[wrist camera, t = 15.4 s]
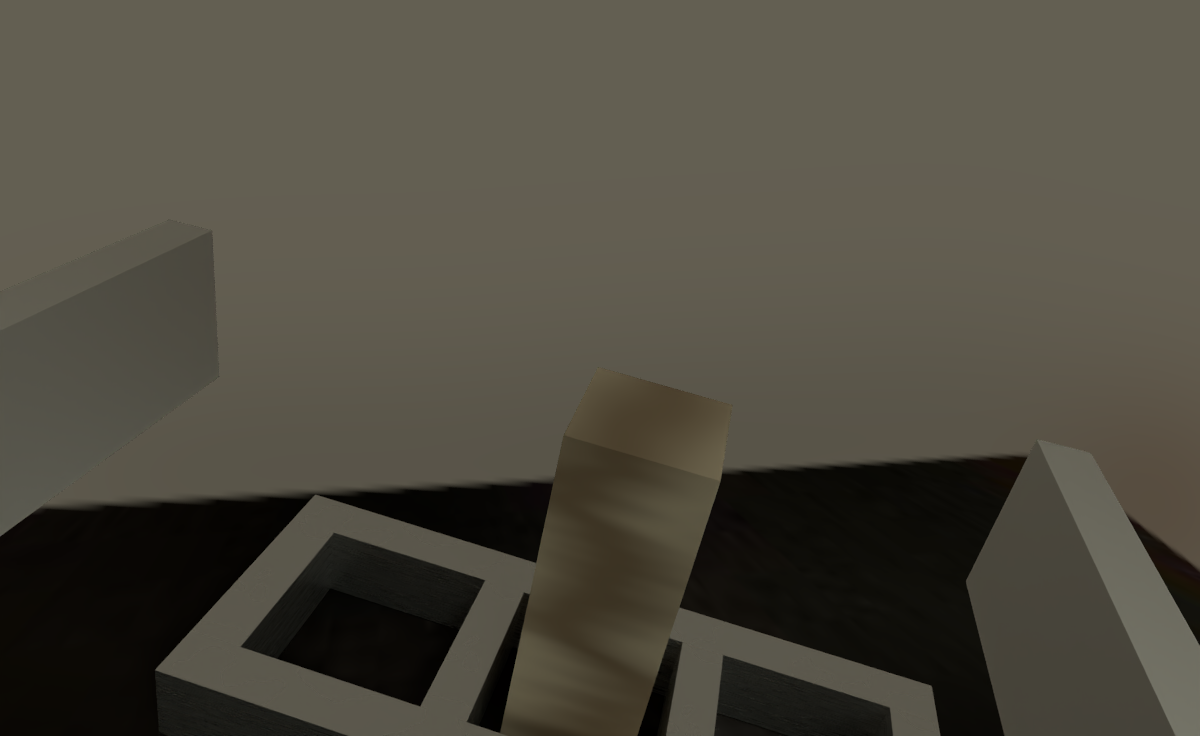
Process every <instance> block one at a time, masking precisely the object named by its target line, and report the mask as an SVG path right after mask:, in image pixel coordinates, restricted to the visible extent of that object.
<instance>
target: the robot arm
mask: <svg viewBox="0 0 1200 736" xmlns="http://www.w3.org/2000/svg"><path fill="white" fill-rule="evenodd" d="M218 377H219V363H218V342H217V321H216V302H215V280H214V261H213V239H212V230H208V229H204V228H200V227H196V226H193V225H188V224H185V223H181V222H177V221H173V220H167V221H165V222H163V223H160V224H158V225H156V226H153V227H151V228H148V229H146V230H144V231H141V232H139V233H137V234H134V235H132V236H130V237H127V238H125V239H123V240H121V241H118V242H115V243H113V244H111V245H109V246H106V247H104V248H102V249H99V250H97V251H94V252H92V253H90V254H87V255H85V256H83V257H80V258H78V259H75V260H73V261H71V262H69V263H66V264H64V265H61V266H59V267H57V268H54V269H52V270H50V271H47V272H45V273H43V274H40V275H38V276H35V277H33V278H31V279H28V280H26V281H24V282H21V283H19V284H17V285H14V286H12V287H9V288H7V289H5V290H2V291H0V536H1V535H2V534H4V533H5V532H7V531H8V530H9V529H11V528H12V527H13V526H15V525H16V524H18V523H19V522H20V521H22V520H23V519H24V518H26V517H27V516H29V515H30V514H31V513H33V512H34V511H35V510H37V509H38V508H40V507H41V506H42V505H44V504H45V503H46V502H48V501H49V500H51V499H52V498H53V497H55V496H56V495H57V494H59V493H60V492H61V491H63V490H64V489H65V488H67V487H68V486H70V485H71V484H73V483H74V482H75V481H77V480H78V479H79V478H81V477H82V476H83V475H85V474H86V473H87V472H89V471H90V470H92V469H93V468H94V467H96V466H97V465H99V464H100V463H101V462H103V461H104V460H105V459H107V458H108V457H110V456H111V455H112V454H114V453H115V452H116V451H118V450H119V449H121V448H122V447H123V446H125V445H126V444H127V443H129V442H130V441H132V440H133V439H134V438H136V437H137V436H138V435H140V434H141V433H143V432H144V431H145V430H147V429H148V428H149V427H151V426H152V425H154V424H155V423H156V422H158V421H159V420H160V419H162V418H163V417H164V416H166V415H167V414H168V413H170V412H171V411H173V410H174V409H176V408H177V407H178V406H180V405H181V404H182V403H184V402H185V401H186V400H188V399H189V398H191V397H192V396H193V395H195V394H196V393H198V392H199V391H200V390H202V389H203V388H204V387H206V386H207V385H209V384H210V383H211V382H212V381H214V380H215V379H217V378H218ZM966 584H967V588H968V592H969V596H970V600H971V604H972V608H973V612H974V616H975V620H976V624H977V628H978V632H979V636H980V640H981V644H982V648H983V652H984V655H985V659H986V663H987V667H988V671H989V675H990V679H991V683H992V687H993V691H994V695H995V699H996V703H997V707H998V711H999V715H1000V719H1001V723H1002V727H1003V731H1004V735H1005V736H1200V646H1199V644H1198V642H1197V640H1196V639H1195V637H1194V635H1193V633H1192V632H1191V630H1190V628H1189V626H1188V624H1187V623H1186V621H1185V619H1184V617H1183V616H1182V614H1181V612H1180V610H1179V608H1178V607H1177V605H1176V603H1175V601H1174V600H1173V598H1172V596H1171V594H1170V592H1169V591H1168V589H1167V587H1166V585H1165V584H1164V582H1163V580H1162V578H1161V577H1160V575H1159V573H1158V571H1157V569H1156V568H1155V566H1154V564H1153V562H1152V561H1151V559H1150V557H1149V555H1148V553H1147V552H1146V550H1145V548H1144V546H1143V545H1142V543H1141V541H1140V539H1139V537H1138V536H1137V534H1136V532H1135V530H1134V529H1133V527H1132V525H1131V523H1130V521H1129V520H1128V518H1127V516H1126V514H1125V513H1124V511H1123V509H1122V507H1121V505H1120V504H1119V502H1118V500H1117V498H1116V497H1115V495H1114V493H1113V491H1112V489H1111V488H1110V486H1109V484H1108V482H1107V481H1106V479H1105V477H1104V475H1103V473H1102V472H1101V470H1100V468H1099V467H1098V465H1097V463H1096V461H1095V459H1094V457H1093V456H1092V454H1091V453H1089V452H1085V451H1081V450H1077V449H1073V448H1069V447H1065V446H1061V445H1057V444H1053V443H1049V442H1045V441H1041V440H1036V442H1035V444H1034V446H1033V448H1032V450H1031V452H1030V454H1029V456H1028V458H1027V460H1026V462H1025V464H1024V466H1023V468H1022V470H1021V472H1020V474H1019V476H1018V478H1017V480H1016V482H1015V484H1014V486H1013V488H1012V490H1011V492H1010V494H1009V496H1008V498H1007V500H1006V502H1005V504H1004V506H1003V508H1002V510H1001V512H1000V514H999V516H998V518H997V520H996V522H995V524H994V526H993V528H992V530H991V532H990V534H989V536H988V538H987V540H986V542H985V544H984V546H983V548H982V550H981V552H980V554H979V556H978V558H977V560H976V562H975V564H974V566H973V568H972V570H971V572H970V574H969V576H968V578H967V580H966Z"/></svg>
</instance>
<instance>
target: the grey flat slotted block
mask: <svg viewBox="0 0 1200 736" xmlns="http://www.w3.org/2000/svg"><path fill="white" fill-rule="evenodd" d="M535 567H536V563H534V562H531V561H528V560H524V559H521V558H518V557H515V556H511V555H508V554H505V553H502V552H499V551H495V550H492V549H489V548H486V547H482V546H479V545H476V544H473V543H470V542H466V541H463V540H460V539H457V538H453V537H450V536H447V535H444V534H441V533H437V532H434V531H431V530H428V529H424V528H421V527H418V526H415V525H412V524H408V523H405V522H402V521H399V520H395V519H392V518H389V517H386V516H383V515H379V514H376V513H373V512H370V511H366V510H363V509H360V508H357V507H354V506H350V505H347V504H344V503H341V502H338V501H334V500H331V499H328V498H325V497H321V496H318V495H315V496H314V497H313V498H312V499H311V500H310V501H309V502H308V503H307V504H306V506H305V507H304V508H303V509H302V510H301V511H300V512H299V513H298V514H297V515H296V516H295V518H294V519H293V520H292V521H291V522H290V523H289V524H288V525H287V526H286V527H285V528H284V530H283V531H282V532H281V533H280V534H279V535H278V536H277V537H276V538H275V539H274V541H273V542H272V543H271V544H270V545H269V546H268V547H267V548H266V549H265V550H264V551H263V553H262V554H261V555H260V556H259V557H258V558H257V559H256V560H255V561H254V562H253V563H252V565H251V566H250V567H249V568H248V569H247V570H246V571H245V572H244V573H243V574H242V575H241V577H240V578H239V579H238V580H237V581H236V582H235V583H234V584H233V585H232V586H231V588H230V589H229V590H228V591H227V592H226V593H225V594H224V595H223V596H222V597H221V598H220V600H219V601H218V602H217V603H216V604H215V605H214V606H213V607H212V608H211V609H210V610H209V612H208V613H207V614H206V615H205V616H204V617H203V618H202V619H201V620H200V621H199V623H198V624H197V625H196V626H195V627H194V628H193V629H192V630H191V631H190V632H189V633H188V635H187V636H186V637H185V638H184V639H183V640H182V641H181V642H180V643H179V644H178V645H177V647H176V648H175V649H174V650H173V651H172V652H171V653H170V654H169V655H168V656H167V658H166V659H165V660H164V661H163V662H162V663H161V664H160V665H159V666H158V667H157V668H156V670H155V678H156V693H157V708H158V723H159V733H160V734H163V735H166V736H507V735H504V734H501V733H498V732H495V731H492V730H489V729H486V728H483V727H480V726H479V725H480V723H481V720H482V718H483V715H484V713H485V711H486V708H487V706H488V704H489V701H490V699H491V697H492V694H493V692H494V690H495V687H496V685H497V682H498V680H499V678H500V675H501V673H502V671H503V668H504V666H505V664H506V661H507V659H508V657H509V654H510V652H511V650H512V647H514V648H517V649H518V647H519V642H520V638H521V633H522V628H523V624H524V619H525V614H526V610H527V605H528V600H529V596H530V591H531V586H532V581H533V577H534V572H535ZM330 588H331V589H334V590H337V591H340V592H343V593H346V594H349V595H352V596H356V597H359V598H362V599H365V600H368V601H371V602H374V603H377V604H380V605H383V606H387V607H390V608H393V609H396V610H399V611H402V612H405V613H408V614H411V615H415V616H418V617H421V618H424V619H427V620H430V621H433V622H436V623H439V624H443V625H446V626H449V627H452V628H455V629H458V630H459V632H458V634H457V636H456V638H455V640H454V642H453V644H452V646H451V648H450V650H449V652H448V654H447V656H446V658H445V660H444V662H443V663H442V665H441V667H440V669H439V671H438V673H437V675H436V677H435V679H434V681H433V683H432V685H431V687H430V689H429V691H428V693H427V695H426V697H425V698H424V700H423V702H422V704H421V706H420V707H419V706H416V705H413V704H410V703H407V702H404V701H401V700H398V699H395V698H392V697H389V696H386V695H383V694H380V693H377V692H374V691H371V690H368V689H365V688H362V687H359V686H356V685H353V684H350V683H347V682H344V681H341V680H338V679H335V678H332V677H329V676H326V675H323V674H320V673H317V672H314V671H311V670H308V669H305V668H302V667H299V666H296V665H293V664H290V663H287V662H284V661H281V660H278V657H279V656H280V655H281V653H282V652H283V651H284V649H285V648H286V647H287V645H288V644H289V643H290V641H291V640H292V639H293V637H294V636H295V635H296V633H297V632H298V631H299V629H300V628H301V627H302V625H303V624H304V623H305V621H306V620H307V619H308V617H309V616H310V615H311V614H312V612H313V611H314V610H315V608H316V607H317V606H318V604H319V603H320V602H321V600H322V599H323V598H324V596H325V595H326V594H327V592H328V591H329V590H330ZM652 692H654V693H657V694H660V695H663V696H664V701H663V706H662V711H661V717H660V722H659V727H658V732H657V736H714V731H715V722H716V713H719V714H722V715H725V716H728V717H731V718H735V719H738V720H741V721H744V722H747V723H750V724H753V725H756V726H759V727H763V728H766V729H769V730H772V731H775V732H778V733H781V734H784V735H787V736H940V731H939V725H938V720H937V714H936V708H935V703H934V697H933V691H932V686H930V685H927V684H924V683H920V682H917V681H914V680H911V679H908V678H904V677H901V676H898V675H895V674H891V673H888V672H885V671H882V670H879V669H875V668H872V667H869V666H866V665H862V664H859V663H856V662H853V661H850V660H846V659H843V658H840V657H837V656H833V655H830V654H827V653H824V652H821V651H817V650H814V649H811V648H808V647H804V646H801V645H798V644H795V643H792V642H788V641H785V640H782V639H779V638H775V637H772V636H769V635H766V634H763V633H759V632H756V631H753V630H750V629H747V628H743V627H740V626H737V625H734V624H730V623H727V622H724V621H721V620H718V619H714V618H711V617H708V616H705V615H701V614H698V613H695V612H692V611H689V610H685V609H682V608H679V609H678V613H677V616H676V619H675V622H674V625H673V628H672V631H671V634H670V637H669V640H668V643H667V646H666V649H665V652H664V655H663V658H662V662H661V665H660V668H659V671H658V674H657V677H656V680H655V683H654V686H653V689H652Z"/></svg>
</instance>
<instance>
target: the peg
mask: <svg viewBox="0 0 1200 736" xmlns="http://www.w3.org/2000/svg"><path fill="white" fill-rule="evenodd" d="M731 411H732V405H730V404H727V403H723V402H720V401H716V400H712V399H709V398H705V397H702V396H699V395H695V394H692V393H688V392H684V391H681V390H677V389H674V388H670V387H667V386H663V385H659V384H656V383H653V382H649V381H645V380H642V379H638V378H635V377H631V376H628V375H624V374H621V373H617V372H614V371H610V370H606V369H603V368H599V367H598V368H597V370H596V372H595V374H594V376H593V378H592V380H591V382H590V384H589V386H588V388H587V390H586V392H585V394H584V396H583V398H582V400H581V402H580V404H579V406H578V408H577V410H576V412H575V414H574V416H573V418H572V420H571V422H570V424H569V426H568V428H567V430H566V432H565V434H564V436H563V441H562V446H561V450H560V455H559V460H558V465H557V469H556V474H555V478H554V483H553V488H552V492H551V497H550V502H549V507H548V511H547V516H546V521H545V525H544V530H543V535H542V539H541V544H540V549H539V553H538V558H537V563H536V567H535V572H534V577H533V581H532V586H531V591H530V596H529V600H528V605H527V610H526V614H525V619H524V624H523V628H522V633H521V638H520V642H519V647H518V652H517V656H516V661H515V666H514V670H513V675H512V680H511V685H510V689H509V694H508V699H507V703H506V708H505V713H504V717H503V722H502V727H501V731H500V733H501V734H504V735H507V736H637V735H638V732H639V729H640V726H641V723H642V720H643V717H644V714H645V711H646V707H647V704H648V701H649V698H650V695H651V692H652V689H653V686H654V683H655V680H656V677H657V674H658V671H659V668H660V665H661V662H662V658H663V655H664V652H665V649H666V646H667V643H668V640H669V637H670V634H671V631H672V628H673V625H674V622H675V619H676V616H677V613H678V609H679V606H680V603H681V600H682V597H683V594H684V591H685V588H686V585H687V582H688V579H689V576H690V573H691V570H692V567H693V564H694V561H695V557H696V554H697V551H698V548H699V545H700V542H701V539H702V536H703V533H704V530H705V527H706V524H707V521H708V518H709V515H710V512H711V508H712V505H713V502H714V499H715V496H716V493H717V490H718V487H719V484H720V481H721V475H722V468H723V462H724V456H725V449H726V442H727V437H728V430H729V423H730V417H731Z"/></svg>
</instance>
